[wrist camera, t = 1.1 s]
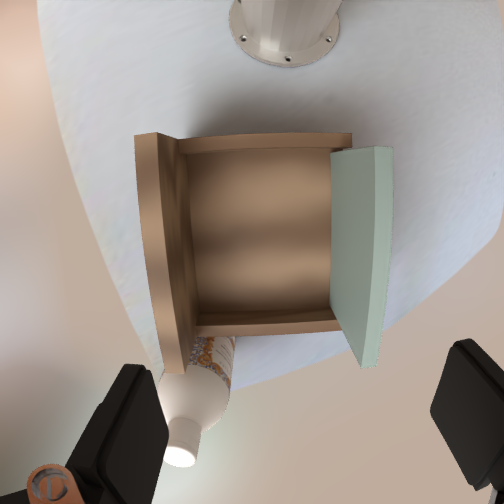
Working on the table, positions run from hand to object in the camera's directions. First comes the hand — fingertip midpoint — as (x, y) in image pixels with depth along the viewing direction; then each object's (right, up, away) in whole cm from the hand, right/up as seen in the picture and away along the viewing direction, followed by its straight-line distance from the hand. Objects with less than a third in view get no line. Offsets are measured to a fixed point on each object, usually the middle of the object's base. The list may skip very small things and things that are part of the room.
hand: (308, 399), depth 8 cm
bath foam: (-7, -6, +31) cm, 32 cm away
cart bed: (-1, +8, +27) cm, 28 cm away
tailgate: (+7, +6, +21) cm, 23 cm away
